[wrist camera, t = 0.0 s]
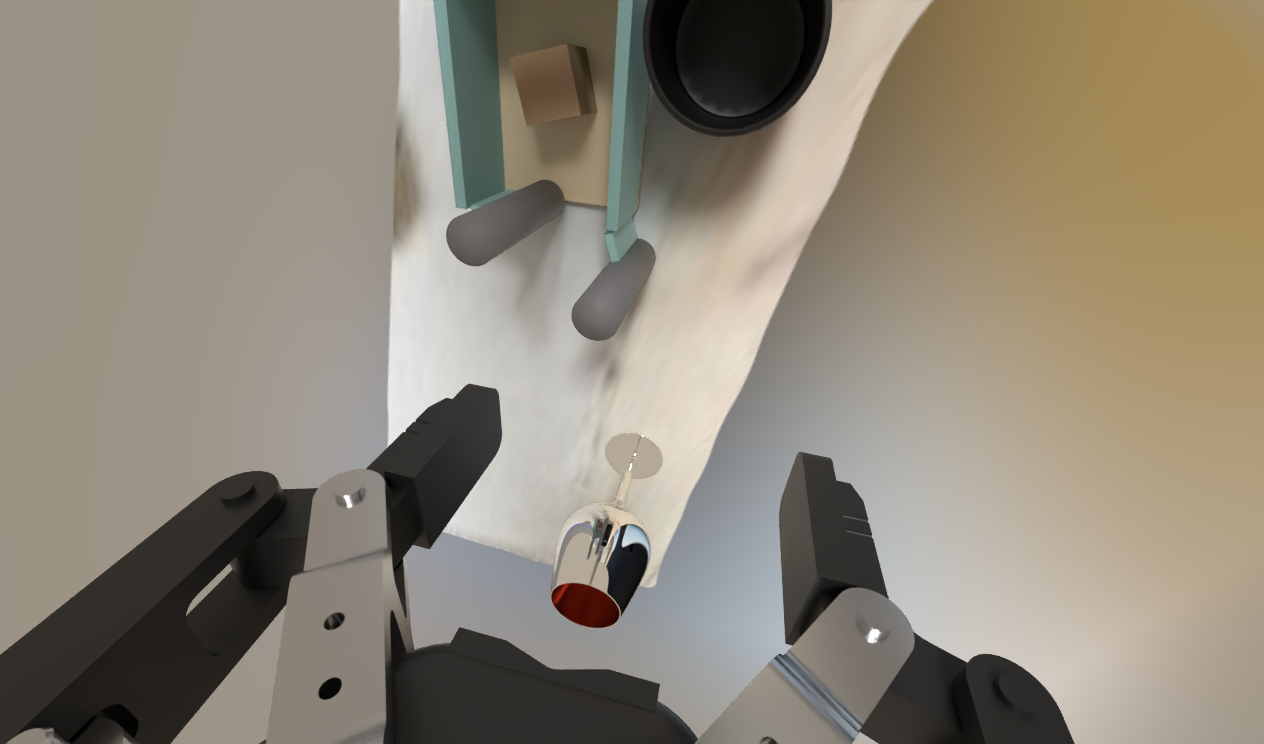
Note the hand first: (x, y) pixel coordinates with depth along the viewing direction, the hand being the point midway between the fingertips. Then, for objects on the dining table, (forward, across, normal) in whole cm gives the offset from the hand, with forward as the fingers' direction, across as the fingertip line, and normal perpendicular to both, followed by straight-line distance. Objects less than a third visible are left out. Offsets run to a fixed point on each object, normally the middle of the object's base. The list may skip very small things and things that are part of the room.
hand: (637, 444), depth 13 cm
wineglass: (+30, +4, +27) cm, 40 cm away
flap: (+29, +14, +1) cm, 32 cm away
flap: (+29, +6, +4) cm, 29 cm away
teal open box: (+29, +12, -6) cm, 32 cm away
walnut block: (+29, +12, -7) cm, 32 cm away
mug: (+30, 0, -12) cm, 32 cm away
